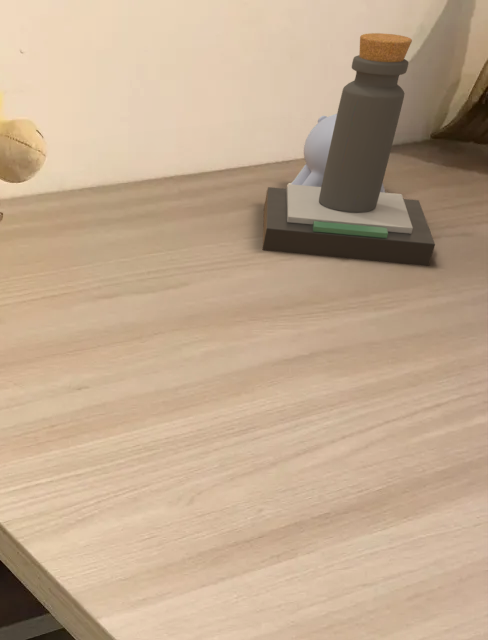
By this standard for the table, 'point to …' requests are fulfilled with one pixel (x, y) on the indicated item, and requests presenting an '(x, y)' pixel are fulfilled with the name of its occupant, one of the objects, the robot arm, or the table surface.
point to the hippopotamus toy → (317, 153)
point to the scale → (346, 228)
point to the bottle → (365, 125)
